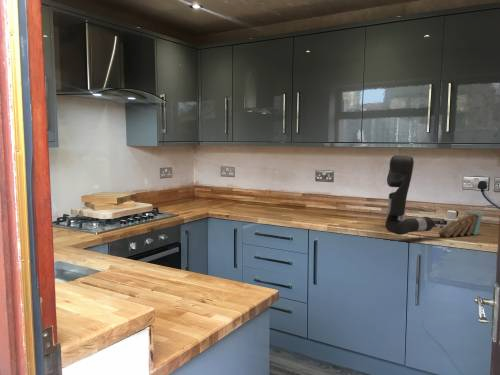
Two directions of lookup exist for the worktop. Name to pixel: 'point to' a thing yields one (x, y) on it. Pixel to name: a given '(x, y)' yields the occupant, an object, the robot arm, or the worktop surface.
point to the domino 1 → (450, 228)
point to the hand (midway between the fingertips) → (445, 222)
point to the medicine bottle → (451, 216)
